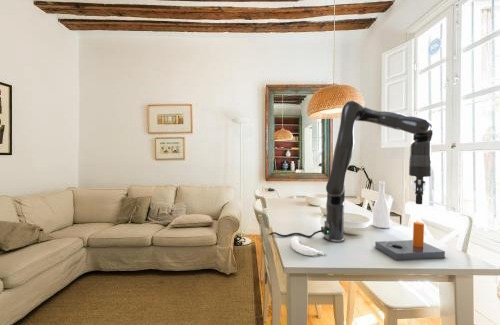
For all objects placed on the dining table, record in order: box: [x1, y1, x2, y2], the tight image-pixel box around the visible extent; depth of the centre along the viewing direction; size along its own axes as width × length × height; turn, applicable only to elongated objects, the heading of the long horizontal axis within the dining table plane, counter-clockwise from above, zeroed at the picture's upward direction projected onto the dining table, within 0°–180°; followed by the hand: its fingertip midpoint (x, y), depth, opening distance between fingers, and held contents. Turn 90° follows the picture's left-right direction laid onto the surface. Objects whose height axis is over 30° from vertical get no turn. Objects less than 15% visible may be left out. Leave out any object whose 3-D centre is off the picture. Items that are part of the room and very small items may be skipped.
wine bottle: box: [372, 180, 391, 229], centre depth 148 cm, size 10×10×30 cm
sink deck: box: [374, 239, 446, 261], centre depth 108 cm, size 24×14×3 cm, turn 97°
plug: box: [412, 221, 425, 248], centre depth 108 cm, size 4×4×11 cm
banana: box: [290, 236, 325, 256], centre depth 111 cm, size 5×19×15 cm
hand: (418, 202), depth 97 cm, fingers open, 8 cm apart
